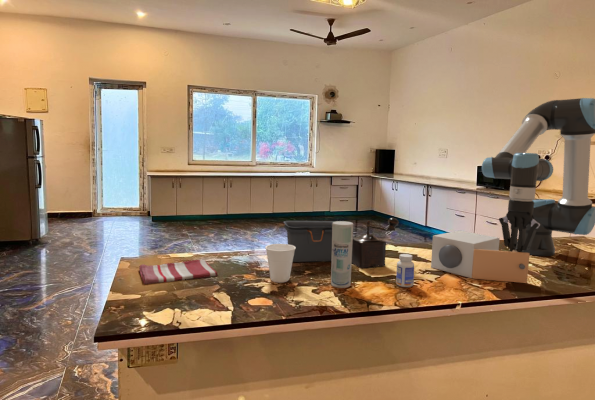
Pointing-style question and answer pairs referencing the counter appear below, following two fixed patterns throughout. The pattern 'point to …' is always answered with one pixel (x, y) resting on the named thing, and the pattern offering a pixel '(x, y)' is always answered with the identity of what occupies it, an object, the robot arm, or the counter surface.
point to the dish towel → (176, 271)
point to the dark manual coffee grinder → (371, 247)
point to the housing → (459, 250)
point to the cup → (280, 261)
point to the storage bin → (310, 240)
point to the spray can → (341, 254)
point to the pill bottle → (405, 271)
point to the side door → (500, 265)
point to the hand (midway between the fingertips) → (514, 268)
